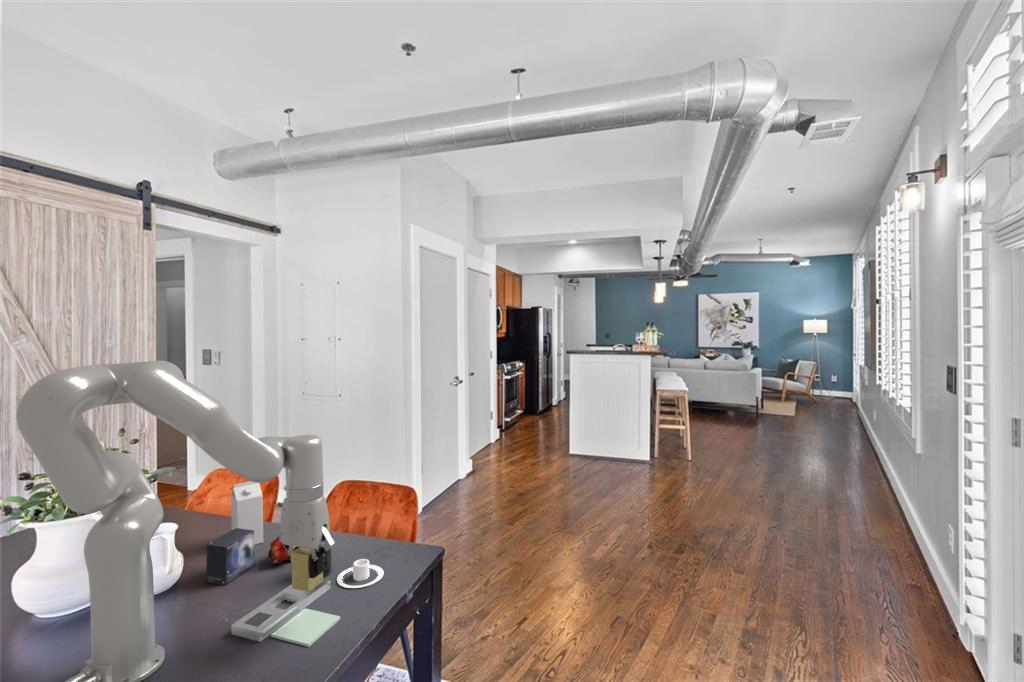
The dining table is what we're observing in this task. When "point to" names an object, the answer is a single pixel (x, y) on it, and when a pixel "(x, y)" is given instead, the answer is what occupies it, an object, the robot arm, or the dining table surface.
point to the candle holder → (360, 573)
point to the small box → (230, 556)
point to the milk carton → (248, 508)
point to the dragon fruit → (278, 551)
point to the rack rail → (276, 612)
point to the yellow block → (303, 570)
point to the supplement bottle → (327, 562)
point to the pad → (306, 627)
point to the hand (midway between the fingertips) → (307, 572)
